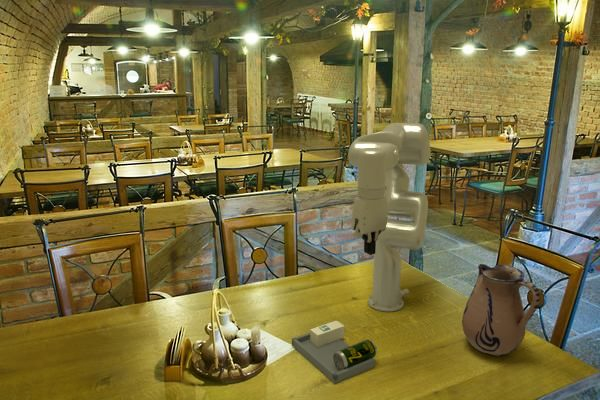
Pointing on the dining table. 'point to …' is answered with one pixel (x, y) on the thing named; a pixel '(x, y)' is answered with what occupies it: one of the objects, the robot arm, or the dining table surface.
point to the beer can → (354, 354)
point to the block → (326, 333)
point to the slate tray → (328, 358)
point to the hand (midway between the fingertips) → (369, 252)
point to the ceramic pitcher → (498, 310)
